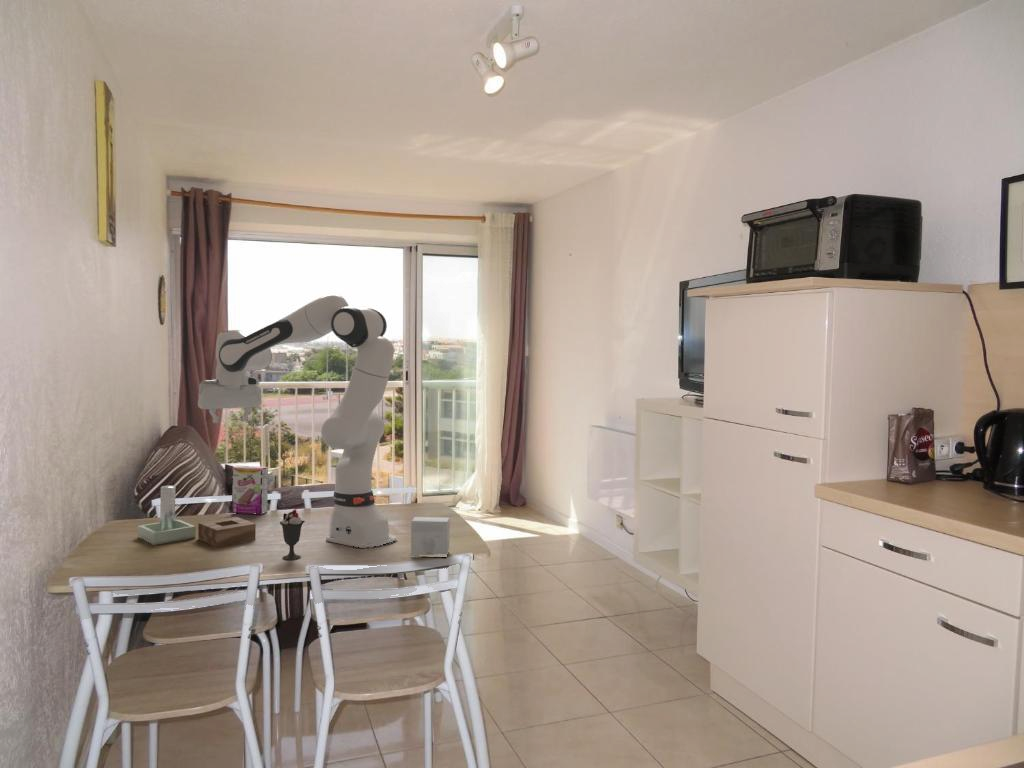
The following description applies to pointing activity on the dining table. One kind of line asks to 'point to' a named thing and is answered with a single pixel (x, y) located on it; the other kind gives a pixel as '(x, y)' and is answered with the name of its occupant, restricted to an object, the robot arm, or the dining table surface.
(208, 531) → the socket block
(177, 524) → the tray
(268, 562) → the dining table surface
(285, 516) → the sundae
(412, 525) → the skincare box
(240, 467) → the candy bar box
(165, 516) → the steel pin
